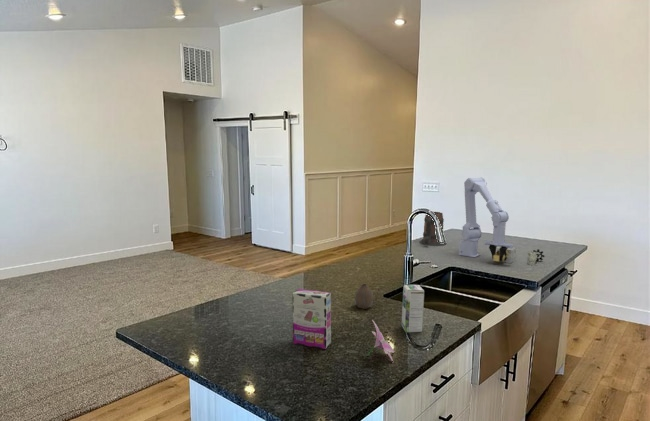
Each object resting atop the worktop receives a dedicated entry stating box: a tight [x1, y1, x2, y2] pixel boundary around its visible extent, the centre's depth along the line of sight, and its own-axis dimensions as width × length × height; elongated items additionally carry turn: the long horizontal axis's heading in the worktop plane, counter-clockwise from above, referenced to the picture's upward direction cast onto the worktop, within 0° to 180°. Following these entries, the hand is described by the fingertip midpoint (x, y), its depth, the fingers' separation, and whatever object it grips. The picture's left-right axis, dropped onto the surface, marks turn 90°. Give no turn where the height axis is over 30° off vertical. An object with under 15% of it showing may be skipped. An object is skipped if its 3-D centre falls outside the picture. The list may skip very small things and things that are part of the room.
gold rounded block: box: [492, 251, 506, 263], centre depth 228 cm, size 6×11×6 cm, turn 139°
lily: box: [366, 319, 395, 362], centre depth 124 cm, size 12×12×10 cm
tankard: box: [419, 211, 447, 247], centre depth 271 cm, size 24×17×20 cm
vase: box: [354, 283, 374, 310], centre depth 163 cm, size 7×7×9 cm
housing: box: [491, 246, 517, 264], centre depth 233 cm, size 10×8×7 cm
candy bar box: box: [292, 288, 332, 350], centre depth 132 cm, size 11×5×16 cm, turn 69°
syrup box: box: [401, 284, 425, 333], centre depth 143 cm, size 6×6×14 cm
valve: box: [526, 248, 546, 266], centre depth 228 cm, size 7×7×12 cm
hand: (497, 259), depth 226 cm, fingers closed on gold rounded block, 3 cm apart
